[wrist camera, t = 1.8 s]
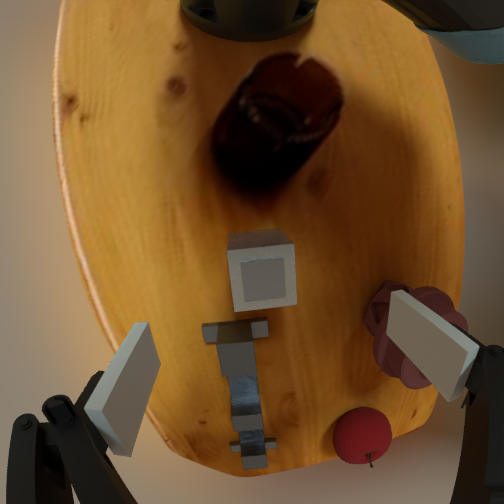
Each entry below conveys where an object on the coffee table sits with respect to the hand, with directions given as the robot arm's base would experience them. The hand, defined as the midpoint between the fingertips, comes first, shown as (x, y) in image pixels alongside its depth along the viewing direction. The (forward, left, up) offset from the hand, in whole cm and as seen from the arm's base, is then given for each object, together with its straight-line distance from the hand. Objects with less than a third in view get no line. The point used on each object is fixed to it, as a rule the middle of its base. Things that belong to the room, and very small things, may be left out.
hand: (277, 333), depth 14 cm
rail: (+19, -3, -15) cm, 24 cm away
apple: (+28, +13, -15) cm, 34 cm away
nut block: (0, 0, -15) cm, 15 cm away
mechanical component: (+8, +15, -15) cm, 23 cm away
